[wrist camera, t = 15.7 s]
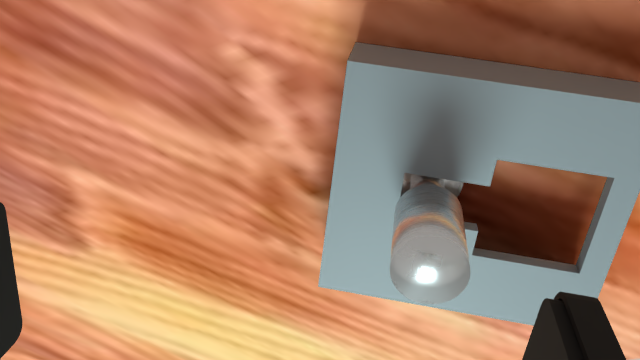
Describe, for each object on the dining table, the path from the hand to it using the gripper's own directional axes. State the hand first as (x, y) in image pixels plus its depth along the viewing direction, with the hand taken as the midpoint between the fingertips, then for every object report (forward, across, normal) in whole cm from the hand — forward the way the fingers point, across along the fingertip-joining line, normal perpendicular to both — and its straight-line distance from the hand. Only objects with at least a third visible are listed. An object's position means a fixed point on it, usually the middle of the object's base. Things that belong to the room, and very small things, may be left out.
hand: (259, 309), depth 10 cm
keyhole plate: (+30, -8, +10) cm, 33 cm away
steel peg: (+30, -5, +10) cm, 32 cm away
